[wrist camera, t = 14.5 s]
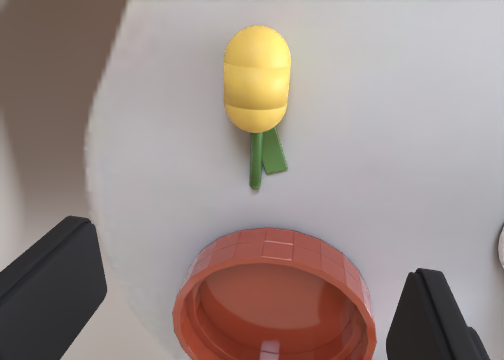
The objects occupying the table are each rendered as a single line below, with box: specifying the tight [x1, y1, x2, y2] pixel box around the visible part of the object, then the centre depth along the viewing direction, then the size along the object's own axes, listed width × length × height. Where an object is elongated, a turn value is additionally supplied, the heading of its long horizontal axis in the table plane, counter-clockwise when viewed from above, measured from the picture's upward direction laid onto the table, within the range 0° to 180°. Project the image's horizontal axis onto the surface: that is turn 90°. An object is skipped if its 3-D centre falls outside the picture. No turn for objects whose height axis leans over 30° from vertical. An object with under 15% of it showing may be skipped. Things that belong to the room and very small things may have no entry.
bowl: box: [172, 228, 377, 360], centre depth 33 cm, size 18×18×4 cm
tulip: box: [224, 26, 291, 189], centre depth 25 cm, size 13×5×4 cm, turn 178°
